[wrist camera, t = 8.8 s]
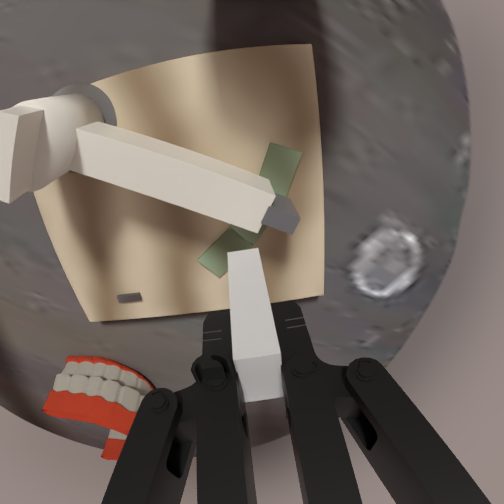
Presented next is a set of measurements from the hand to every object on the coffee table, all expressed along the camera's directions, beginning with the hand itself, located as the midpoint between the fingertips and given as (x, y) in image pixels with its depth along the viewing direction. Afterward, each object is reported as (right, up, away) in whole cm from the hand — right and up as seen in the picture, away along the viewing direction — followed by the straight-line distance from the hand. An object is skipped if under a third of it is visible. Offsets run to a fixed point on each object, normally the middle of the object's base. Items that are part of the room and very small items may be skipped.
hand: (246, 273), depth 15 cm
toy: (-15, -14, +16) cm, 26 cm away
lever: (-5, +7, +1) cm, 9 cm away
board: (-5, +5, +5) cm, 9 cm away
